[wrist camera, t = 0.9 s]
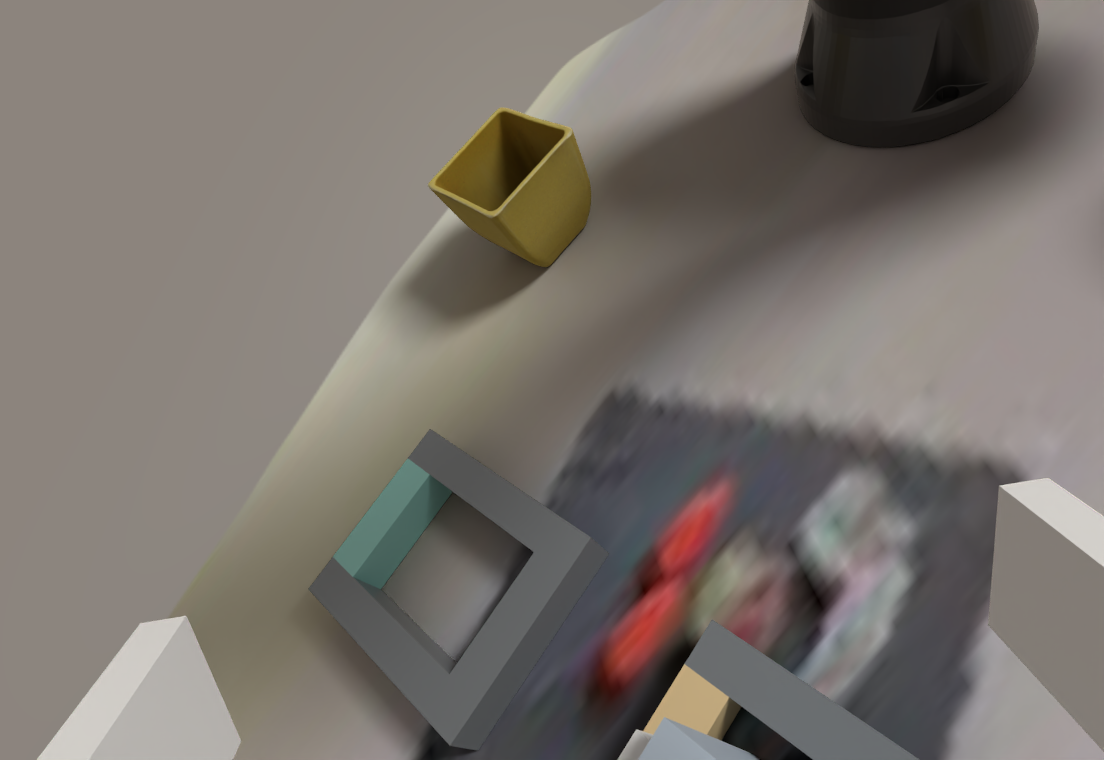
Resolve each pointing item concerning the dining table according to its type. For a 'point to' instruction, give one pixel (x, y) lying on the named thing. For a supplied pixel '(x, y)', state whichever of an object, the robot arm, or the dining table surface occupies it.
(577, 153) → the flower pot
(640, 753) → the plug
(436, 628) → the dining table surface
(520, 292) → the dining table surface
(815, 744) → the socket
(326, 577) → the socket
